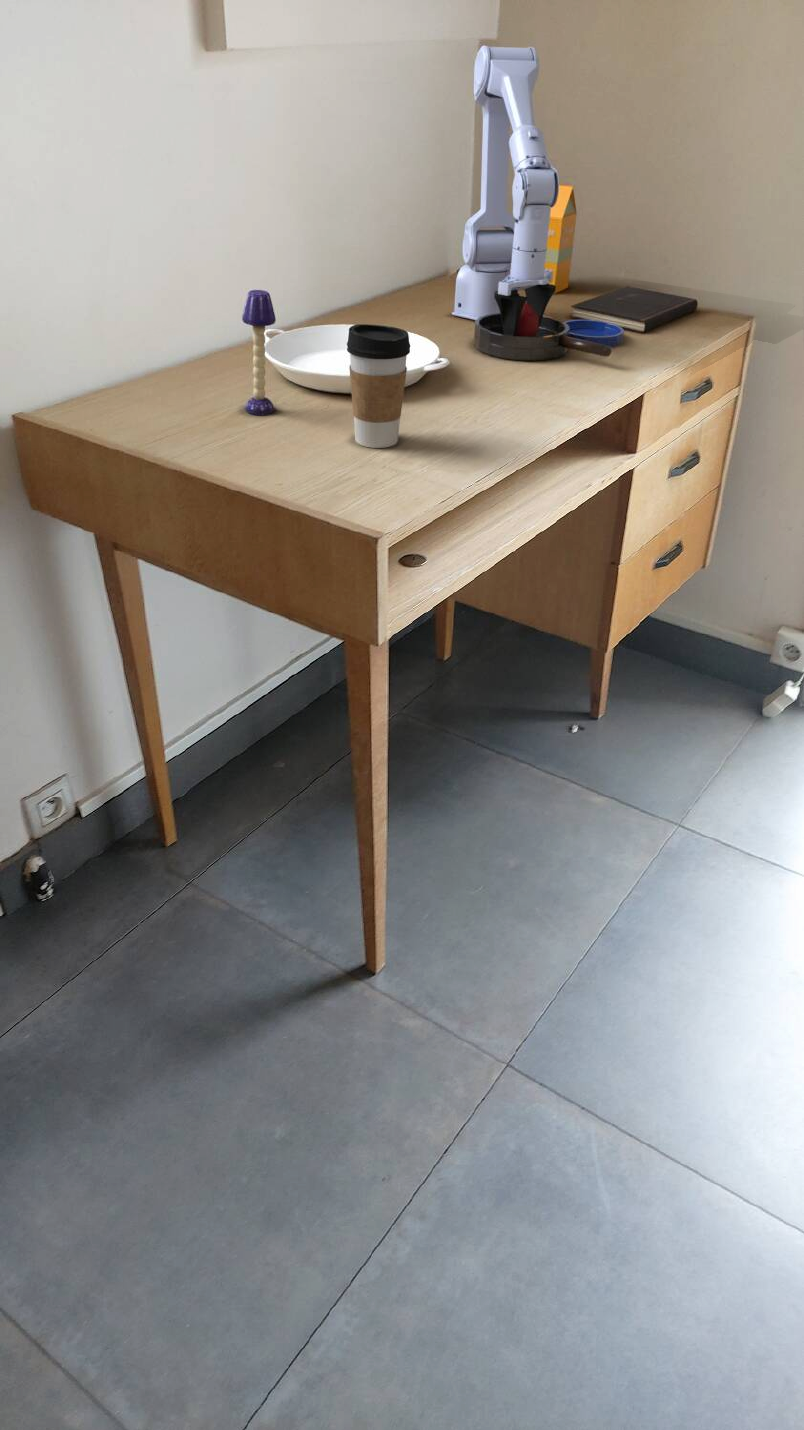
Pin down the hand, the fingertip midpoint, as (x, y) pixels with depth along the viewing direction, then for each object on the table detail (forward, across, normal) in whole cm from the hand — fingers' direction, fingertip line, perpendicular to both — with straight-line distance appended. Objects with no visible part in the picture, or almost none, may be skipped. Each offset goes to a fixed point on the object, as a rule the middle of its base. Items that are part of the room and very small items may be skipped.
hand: (521, 331), depth 184 cm
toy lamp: (+3, -55, +10) cm, 56 cm away
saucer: (+3, +14, -6) cm, 16 cm away
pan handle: (+1, 0, -13) cm, 13 cm away
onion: (+3, 0, 0) cm, 3 cm away
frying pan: (+3, 0, 0) cm, 3 cm away
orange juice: (+3, +42, +21) cm, 47 cm away
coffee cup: (+3, -53, -10) cm, 54 cm away
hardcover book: (+3, +36, -4) cm, 36 cm away
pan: (+3, -32, +12) cm, 34 cm away
